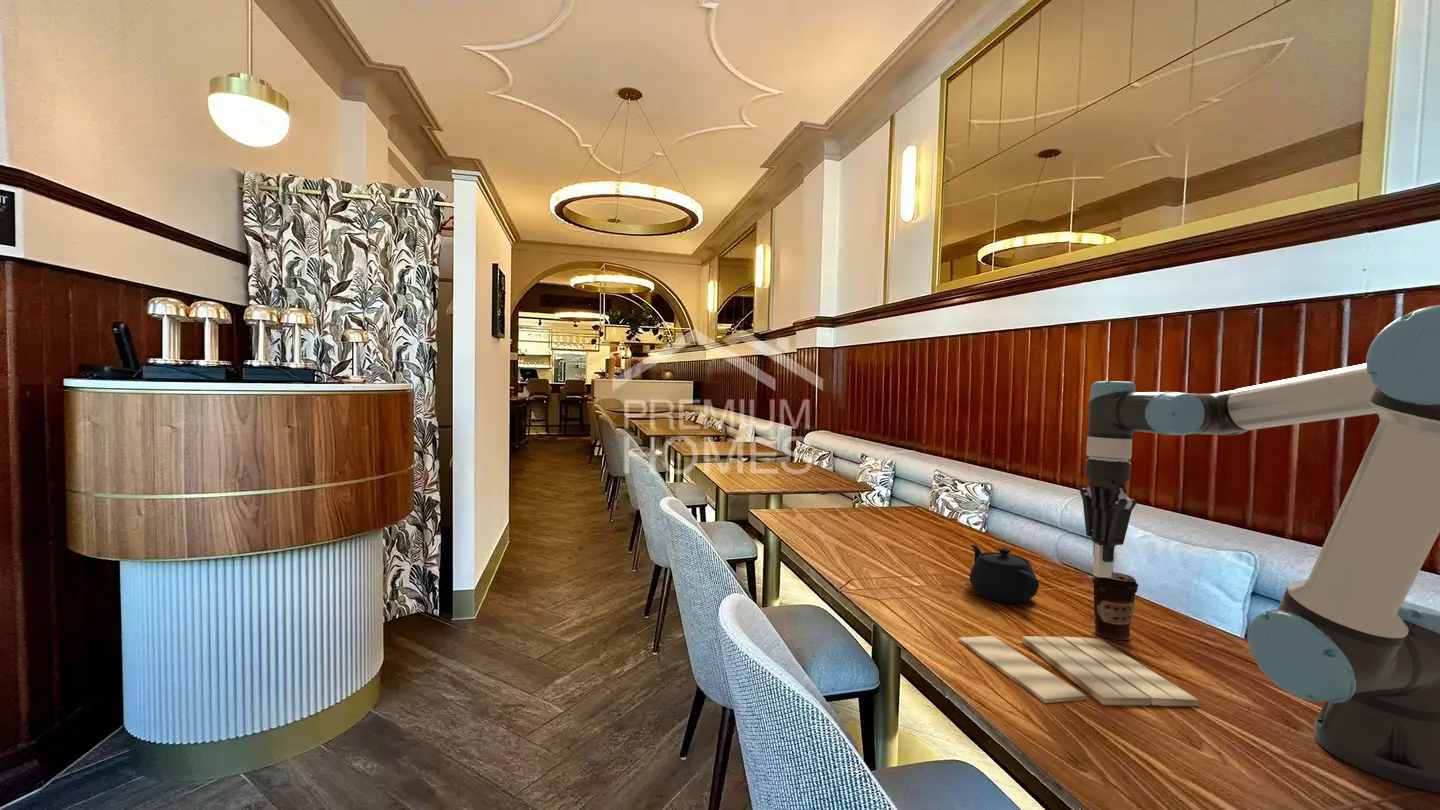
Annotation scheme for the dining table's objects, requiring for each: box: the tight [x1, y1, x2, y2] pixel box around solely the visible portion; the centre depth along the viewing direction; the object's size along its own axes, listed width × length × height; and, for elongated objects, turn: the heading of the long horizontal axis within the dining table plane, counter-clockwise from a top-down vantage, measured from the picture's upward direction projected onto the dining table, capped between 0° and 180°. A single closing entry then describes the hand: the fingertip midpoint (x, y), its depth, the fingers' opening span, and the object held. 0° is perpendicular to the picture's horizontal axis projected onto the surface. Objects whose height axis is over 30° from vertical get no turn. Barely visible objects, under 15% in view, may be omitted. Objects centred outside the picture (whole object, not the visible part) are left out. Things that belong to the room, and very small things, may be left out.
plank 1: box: [957, 635, 1087, 704], centre depth 110 cm, size 24×8×1 cm, turn 12°
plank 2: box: [1061, 636, 1200, 707], centre depth 109 cm, size 24×8×1 cm, turn 3°
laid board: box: [1021, 635, 1151, 706], centre depth 109 cm, size 24×8×1 cm, turn 3°
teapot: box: [969, 544, 1040, 604], centre depth 149 cm, size 25×16×12 cm, turn 11°
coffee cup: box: [1091, 571, 1139, 641], centre depth 126 cm, size 9×8×13 cm
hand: (1102, 576), depth 117 cm, fingers closed
